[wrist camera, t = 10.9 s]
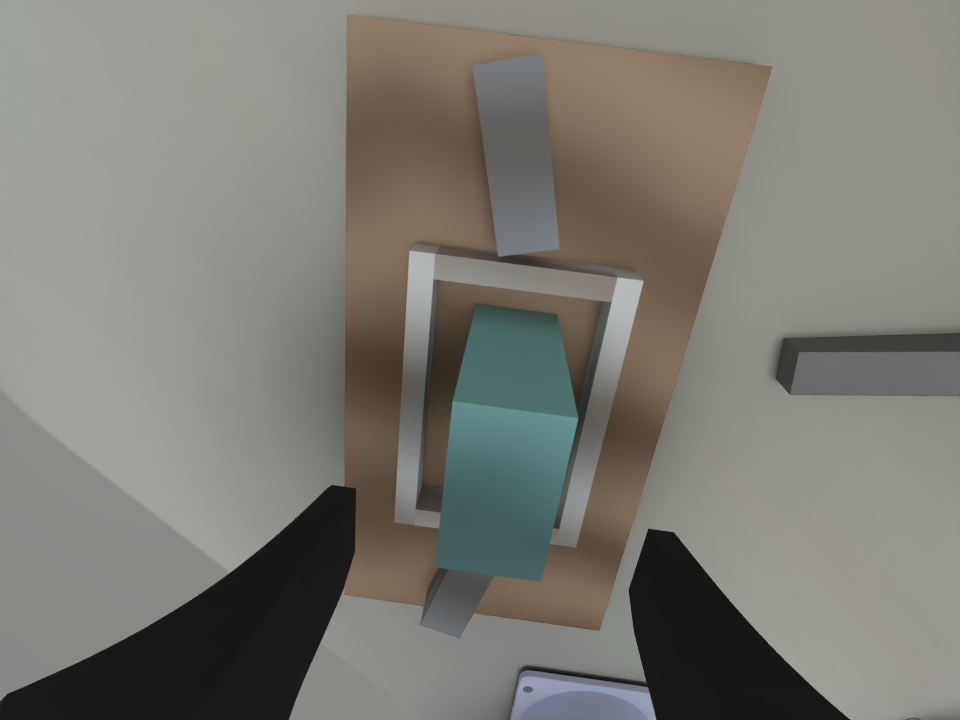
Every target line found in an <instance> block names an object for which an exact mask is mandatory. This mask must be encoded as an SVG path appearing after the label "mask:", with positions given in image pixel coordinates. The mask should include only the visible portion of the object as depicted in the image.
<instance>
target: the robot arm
mask: <svg viewBox="0 0 960 720" xmlns="http://www.w3.org/2000/svg"><path fill="white" fill-rule="evenodd" d="M355 530H356V488H349V487H342V486H335V485H331V486H330V487H328V488H327V489H326V490H325V491H324V492H323V493H322V494H321V495H320V496H319V497H318V498H317V499H316V500H315V501H314V502H313V503H312V504H310V505H309V506H308V507H307V508H306V509H305V510H304V511H303V512H302V513H301V514H300V515H299V516H298V517H297V518H296V519H294V520H293V521H292V522H291V523H290V524H289V525H288V526H287V527H285V528H284V529H283V530H282V531H281V532H280V533H279V534H278V535H276V536H275V537H274V538H273V539H272V540H271V541H270V542H268V543H267V544H266V545H265V546H264V547H262V548H261V549H260V550H259V551H257V552H256V553H255V554H254V555H252V556H251V557H250V558H249V559H247V560H246V561H245V562H244V563H242V564H241V565H240V566H238V567H237V568H236V569H235V570H233V571H232V572H231V573H229V574H228V575H227V576H225V577H224V578H223V579H221V580H220V581H218V582H217V583H215V584H214V585H213V586H211V587H210V588H208V589H207V590H205V591H204V592H203V593H201V594H199V595H198V596H197V597H195V598H193V599H192V600H191V601H189V602H187V603H185V604H184V605H182V606H181V607H179V608H178V609H176V610H174V611H173V612H171V613H169V614H168V615H166V616H165V617H163V618H161V619H159V620H158V621H156V622H154V623H153V624H151V625H149V626H148V627H146V628H144V629H142V630H141V631H139V632H137V633H135V634H134V635H131V636H129V637H128V638H126V639H124V640H122V641H120V642H118V643H116V644H114V645H112V646H111V647H109V648H107V649H105V650H103V651H101V652H99V653H97V654H95V655H93V656H91V657H89V658H87V659H84V660H82V661H81V662H79V663H76V664H74V665H72V666H70V667H68V668H66V669H63V670H61V671H59V672H57V673H54V674H52V675H50V676H47V677H45V678H43V679H41V680H38V681H36V682H34V683H32V684H30V685H27V686H25V687H23V688H21V689H18V690H16V691H14V692H11V693H9V694H7V695H6V696H5V697H4V698H3V699H2V700H1V701H0V720H289V717H290V715H291V711H292V709H293V705H294V703H295V700H296V698H297V695H298V693H299V690H300V688H301V685H302V683H303V680H304V678H305V676H306V674H307V671H308V669H309V667H310V664H311V662H312V660H313V658H314V656H315V653H316V651H317V649H318V646H319V644H320V642H321V640H322V638H323V635H324V633H325V631H326V628H327V626H328V624H329V622H330V619H331V617H332V615H333V613H334V610H335V608H336V606H337V603H338V601H339V599H340V596H341V594H342V592H343V589H344V586H345V583H346V579H347V576H348V573H349V570H350V567H351V563H352V560H353V557H354V553H355ZM629 596H630V604H631V613H632V620H633V627H634V633H635V637H636V642H637V646H638V650H639V654H640V658H641V662H642V666H643V670H644V674H645V677H646V681H647V685H648V687H644V686H637V685H630V684H623V683H616V682H609V681H602V680H595V679H588V678H581V677H574V676H567V675H560V674H553V673H546V672H539V671H532V670H526V671H523V672H522V673H521V674H520V676H519V681H518V685H517V690H516V694H515V698H514V703H513V707H512V712H511V716H510V720H850V719H848V718H847V717H846V716H845V715H844V714H843V713H841V712H840V711H839V710H838V709H837V708H836V707H834V706H833V705H832V704H831V703H830V702H829V701H828V700H826V699H825V698H824V697H823V696H822V695H821V694H820V693H819V692H818V691H816V690H815V689H814V688H813V687H812V686H811V685H810V684H809V683H808V682H807V681H806V680H805V679H804V678H803V677H802V676H801V675H800V674H799V673H797V672H796V671H795V670H794V669H793V668H792V667H791V666H790V665H789V664H788V663H787V662H786V661H785V660H784V659H783V658H782V657H781V656H780V655H779V654H778V653H777V652H776V651H775V650H774V649H773V648H772V647H771V646H770V645H769V644H768V643H767V641H766V640H765V639H764V638H763V637H762V636H761V635H760V634H759V633H758V632H757V631H756V630H755V629H754V628H753V626H752V625H751V624H750V623H749V622H748V621H747V620H746V619H745V618H744V617H743V615H742V614H741V613H740V612H739V611H738V610H737V609H736V607H735V606H734V605H733V604H732V603H731V602H730V601H729V599H728V598H727V597H726V596H725V595H724V593H723V592H722V591H721V590H720V589H719V587H718V586H717V585H716V584H715V583H714V581H713V580H712V579H711V578H710V577H709V575H708V574H707V573H706V572H705V570H704V569H703V568H702V567H701V565H700V564H699V563H698V562H697V561H696V559H695V558H694V557H693V556H692V554H691V553H690V552H689V551H688V549H687V548H686V547H685V546H684V544H683V543H682V542H681V541H680V539H679V538H678V537H677V536H676V535H675V533H674V532H668V531H660V530H653V529H648V532H647V535H646V538H645V541H644V544H643V547H642V550H641V554H640V557H639V560H638V563H637V566H636V569H635V572H634V575H633V578H632V581H631V584H630V587H629Z"/></svg>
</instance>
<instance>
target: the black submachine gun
mask: <svg viewBox="0 0 960 720" xmlns="http://www.w3.org/2000/svg"><path fill="white" fill-rule="evenodd" d="M776 379H777V380H778V382H779V383H780V384H781V385H782V386H783V387H784V388H785V390H786V391H787V392H788V393H789V394H790V395H867V396H960V333H954V334H919V335H884V336H849V337H814V338H784V342H783V347H782V352H781V357H780V362H779V367H778V372H777V377H776Z"/></svg>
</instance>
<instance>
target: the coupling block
mask: <svg viewBox="0 0 960 720" xmlns="http://www.w3.org/2000/svg"><path fill="white" fill-rule="evenodd" d="M577 422H578V414H577V409H576V404H575V399H574V394H573V389H572V385H571V380H570V375H569V370H568V365H567V360H566V355H565V350H564V345H563V340H562V335H561V330H560V326H559V321H558V316H557V314H554V313H546V312H539V311H531V310H524V309H516V308H509V307H501V306H494V305H486V304H478V303H477V304H476V308H475V312H474V316H473V320H472V324H471V328H470V332H469V336H468V341H467V345H466V349H465V353H464V357H463V361H462V365H461V369H460V373H459V377H458V382H457V386H456V390H455V394H454V398H453V403H452V412H451V422H450V431H449V441H448V450H447V459H446V469H445V478H444V488H443V497H442V506H441V516H440V525H439V535H438V544H437V553H436V563H435V567H438V568H445V569H452V570H459V571H467V572H474V573H481V574H488V575H495V576H502V577H509V578H516V579H523V580H530V581H537V582H541V581H542V576H543V572H544V567H545V563H546V559H547V554H548V550H549V545H550V541H551V537H552V532H553V528H554V523H555V519H556V515H557V510H558V506H559V501H560V497H561V493H562V488H563V484H564V479H565V475H566V471H567V466H568V462H569V457H570V453H571V449H572V444H573V440H574V435H575V431H576V427H577Z"/></svg>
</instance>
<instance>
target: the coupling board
mask: <svg viewBox="0 0 960 720" xmlns="http://www.w3.org/2000/svg"><path fill="white" fill-rule="evenodd" d="M771 69H772V67H771V66H763V65H754V64H746V63H738V62H730V61H722V60H713V59H705V58H697V57H689V56H681V55H672V54H664V53H656V52H648V51H640V50H632V49H623V48H615V47H607V46H599V45H591V44H582V43H574V42H566V41H558V40H550V39H541V38H533V37H525V36H517V35H509V34H500V33H492V32H484V31H476V30H468V29H459V28H451V27H443V26H435V25H427V24H418V23H410V22H402V21H394V20H386V19H377V18H369V17H361V16H353V15H347V146H346V378H345V487H349V488H356V530H355V553H354V557H353V560H352V563H351V567H350V570H349V573H348V576H347V579H346V583H345V595H349V596H357V597H364V598H371V599H378V600H385V601H392V602H399V603H406V604H413V605H420V606H424V608H423V613H422V618H421V623H420V625H421V626H424V627H427V628H430V629H433V630H436V631H439V632H442V633H445V634H448V635H451V636H454V637H457V638H460V636H461V634H462V633H463V631H464V629H465V627H466V626H467V624H468V622H469V620H470V619H471V617H472V615H473V613H477V614H484V615H491V616H498V617H505V618H512V619H520V620H527V621H534V622H541V623H548V624H555V625H562V626H569V627H576V628H583V629H590V630H598V631H599V630H600V627H601V624H602V620H603V617H604V614H605V611H606V607H607V604H608V601H609V597H610V594H611V591H612V588H613V584H614V581H615V578H616V575H617V571H618V568H619V565H620V562H621V558H622V555H623V552H624V549H625V545H626V542H627V539H628V536H629V532H630V529H631V526H632V523H633V519H634V516H635V513H636V509H637V506H638V503H639V500H640V496H641V493H642V490H643V487H644V483H645V480H646V477H647V474H648V470H649V467H650V464H651V461H652V457H653V454H654V451H655V448H656V444H657V441H658V438H659V435H660V431H661V428H662V425H663V421H664V418H665V415H666V412H667V408H668V405H669V402H670V399H671V395H672V392H673V389H674V386H675V382H676V379H677V376H678V373H679V369H680V366H681V363H682V360H683V356H684V353H685V350H686V346H687V343H688V340H689V337H690V333H691V330H692V327H693V324H694V320H695V317H696V314H697V311H698V307H699V304H700V301H701V298H702V294H703V291H704V288H705V285H706V281H707V278H708V275H709V272H710V268H711V265H712V262H713V258H714V255H715V252H716V249H717V245H718V242H719V239H720V236H721V232H722V229H723V226H724V223H725V219H726V216H727V213H728V210H729V206H730V203H731V200H732V197H733V193H734V190H735V187H736V183H737V180H738V177H739V174H740V170H741V167H742V164H743V161H744V157H745V154H746V151H747V148H748V144H749V141H750V138H751V135H752V131H753V128H754V125H755V122H756V118H757V115H758V112H759V109H760V105H761V102H762V99H763V95H764V92H765V89H766V86H767V82H768V79H769V76H770V73H771ZM477 303H478V304H486V305H494V306H501V307H509V308H516V309H524V310H531V311H539V312H546V313H554V314H557V316H558V321H559V326H560V330H561V335H562V340H563V345H564V350H565V355H566V360H567V365H568V370H569V375H570V380H571V385H572V389H573V394H574V399H575V404H576V409H577V414H578V422H577V427H576V431H575V435H574V440H573V444H572V449H571V453H570V457H569V462H568V466H567V471H566V475H565V479H564V484H563V488H562V493H561V497H560V501H559V506H558V510H557V515H556V519H555V523H554V528H553V532H552V537H551V541H550V545H549V550H548V554H547V559H546V563H545V567H544V572H543V576H542V581H541V582H537V581H530V580H523V579H516V578H509V577H502V576H495V575H488V574H481V573H474V572H467V571H459V570H452V569H445V568H438V567H435V563H436V553H437V544H438V535H439V525H440V516H441V506H442V497H443V488H444V478H445V469H446V459H447V450H448V441H449V431H450V422H451V412H452V403H453V398H454V394H455V390H456V386H457V382H458V377H459V373H460V369H461V365H462V361H463V357H464V353H465V349H466V345H467V341H468V336H469V332H470V328H471V324H472V320H473V316H474V312H475V308H476V304H477Z"/></svg>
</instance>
